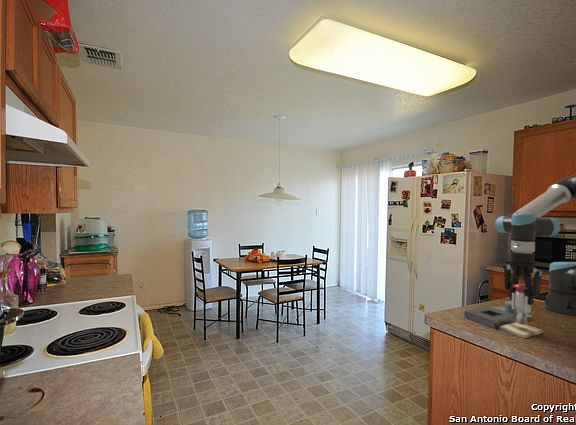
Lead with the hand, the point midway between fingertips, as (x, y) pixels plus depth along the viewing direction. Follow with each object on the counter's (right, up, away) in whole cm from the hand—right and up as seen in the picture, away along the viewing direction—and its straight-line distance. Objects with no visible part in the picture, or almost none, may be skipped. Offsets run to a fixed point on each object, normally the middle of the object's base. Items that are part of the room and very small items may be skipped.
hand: (521, 310), depth 122 cm
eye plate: (-4, -8, +12) cm, 15 cm away
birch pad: (0, -8, 0) cm, 8 cm away
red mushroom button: (0, -5, 0) cm, 5 cm away
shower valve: (+11, -9, +20) cm, 25 cm away
